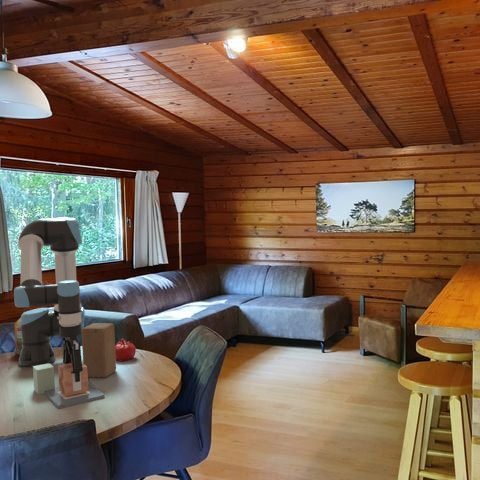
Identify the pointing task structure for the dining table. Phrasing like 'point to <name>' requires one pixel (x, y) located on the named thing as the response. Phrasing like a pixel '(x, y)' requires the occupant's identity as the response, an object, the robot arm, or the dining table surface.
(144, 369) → the dining table surface
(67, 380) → the terracotta block
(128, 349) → the pomegranate
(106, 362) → the wooden block
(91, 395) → the board
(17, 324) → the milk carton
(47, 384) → the sage block
